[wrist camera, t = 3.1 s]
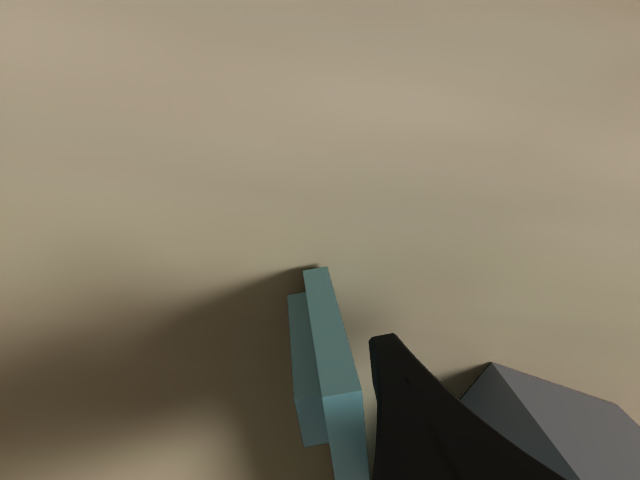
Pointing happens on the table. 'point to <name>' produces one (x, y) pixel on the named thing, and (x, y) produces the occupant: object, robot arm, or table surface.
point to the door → (326, 377)
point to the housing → (558, 425)
